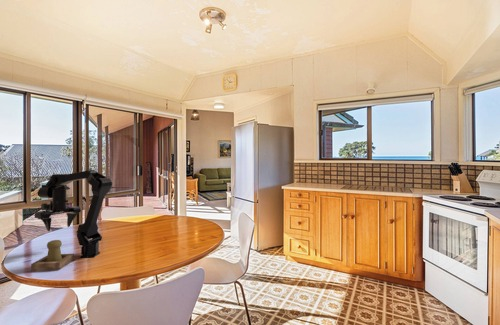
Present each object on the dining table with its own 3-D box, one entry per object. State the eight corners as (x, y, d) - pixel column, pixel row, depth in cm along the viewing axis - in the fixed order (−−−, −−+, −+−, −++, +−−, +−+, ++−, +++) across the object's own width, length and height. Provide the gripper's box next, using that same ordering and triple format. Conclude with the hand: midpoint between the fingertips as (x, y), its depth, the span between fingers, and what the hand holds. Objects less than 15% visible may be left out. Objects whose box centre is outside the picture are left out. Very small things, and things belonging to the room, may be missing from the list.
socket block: (74, 259, 116) (74, 253, 116) (59, 269, 105) (59, 262, 105) (48, 260, 115) (48, 254, 115) (31, 271, 104) (31, 264, 104)
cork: (60, 261, 114) (60, 237, 114) (64, 264, 110) (64, 240, 111) (43, 265, 110) (44, 240, 110) (47, 269, 106) (47, 243, 106)
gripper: (68, 195, 138) (68, 223, 138) (28, 199, 120) (27, 231, 120) (81, 196, 133) (81, 225, 133) (41, 201, 116) (41, 234, 116)
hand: (58, 228), depth 126 cm, fingers open, 9 cm apart
